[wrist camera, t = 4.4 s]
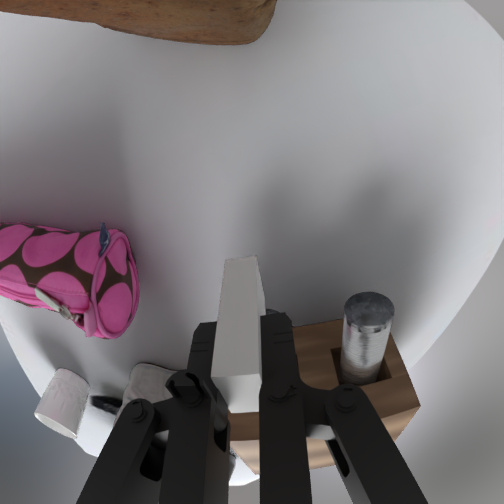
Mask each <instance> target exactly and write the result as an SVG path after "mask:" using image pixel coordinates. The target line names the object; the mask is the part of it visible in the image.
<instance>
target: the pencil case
mask: <svg viewBox="0 0 504 504" xmlns="http://www.w3.org/2000/svg"><path fill="white" fill-rule="evenodd" d="M100 225H101V229H98V230H91V231H85V232H72V231H67V230H63V229H57V228H50V227H46V226H39V225H36V226H34V225H30V224H26V223H0V295H2V296H4V297H6V298H10V299H11V300H14V301H16V302H19V303H21V304H24V305H26V306H28V307H32V308H40V307H43V308H46V309H48V310H51V311H54V312H58V313H60V314H61V315H62V316H63V317H64V318H65V319H72V320H73V322H74V323H75V324H76V326H77V327H79V328H81V329H82V330H84V331H85V332H86V337H91V336H96V337H99V338H103V339H116V338H118V337H119V336H121V335H122V334H123V333H124V332H125V331H126V329H127V328H128V327H129V325H130V324H131V322H132V320H133V318H134V316H135V313H136V310H137V307H138V302H139V280H138V274H137V269H136V264H135V259H134V256H133V253H132V250H131V247H130V244H129V241H128V238H127V236H126V235H125V233H124V232H123V231H121V230H118V229H106V227H105V224H104V222H101V223H100Z"/></svg>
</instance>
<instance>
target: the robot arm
mask: <svg viewBox="0 0 504 504" xmlns="http://www.w3.org/2000/svg"><path fill="white" fill-rule="evenodd" d="M190 352H191V353H190V355H189V360H188V366H187V369H185V370H180V371H178V372H176V373H174V374H172V375H171V376H170V377H169V378H168V380H167V382H166V384H165V387H166V388H167V389H168V391H169V392H170V393H171V395H172V396H173V397H172V398H169V399H166V400H163V401H159V402H155V403H151V402H150V401H148V400H146V399H142V398H137V399H134V400H132V401H130V402H129V403H127V405H126V406H125V407H124V408H123V410H122V412H121V414H120V416H119V418H118V420H117V422H116V424H115V426H114V427H113V429H112V431H111V433H110V435H109V437H108V439H107V441H106V443H105V445H104V447H103V449H102V451H101V453H100V455H99V457H98V459H97V461H96V463H95V465H94V467H93V469H92V471H91V473H90V475H89V477H88V479H87V481H86V484H85V486H84V488H83V490H82V492H81V495H80V496H79V498H78V500H77V503H76V504H228V486H229V480H230V478H231V475H232V473H233V471H234V468H235V461H236V459H235V457H234V456H232V455H230V432H231V426H230V421H229V420H228V409H229V410H230V412H231V413H244V412H259V461H260V504H312V494H311V482H310V472H309V461H308V450H307V441H306V437H308V438H314V439H321V440H325V442H326V445H327V447H328V449H329V451H330V453H331V456H332V458H333V460H334V462H335V465H336V467H337V469H338V471H339V473H340V476H341V477H342V480H343V482H344V484H345V486H346V489H347V491H348V493H349V495H350V497H351V500H352V502H353V504H428V502H427V500H426V499H425V497H424V495H423V493H422V491H421V489H420V487H419V486H418V484H417V482H416V480H415V478H414V477H413V475H412V473H411V471H410V469H409V468H408V466H407V464H406V462H405V460H404V459H403V457H402V455H401V453H400V452H399V450H398V448H397V446H396V445H395V443H394V441H393V439H392V438H391V436H390V434H389V432H388V431H387V429H386V427H385V425H384V424H383V422H382V420H381V419H380V417H379V415H378V413H377V412H376V410H375V408H374V407H373V405H372V403H371V402H370V400H369V398H368V397H367V395H366V393H365V392H364V391H363V390H362V389H361V388H360V387H358V386H356V385H353V384H343V385H339V386H336V387H335V388H333V389H332V390H325V389H317V388H313V387H310V386H308V385H307V384H305V383H304V382H303V381H302V380H301V378H300V376H299V373H298V367H297V359H296V352H295V344H294V337H293V330H292V323H291V320H290V319H289V317H288V316H287V315H286V313H285V312H284V313H277V314H269V315H266V311H265V297H264V292H263V287H262V282H261V277H260V272H259V267H258V262H257V257H256V256H249V257H243V258H236V259H229V260H225V267H224V275H223V282H222V289H221V297H220V304H219V312H218V320H217V321H216V322H206V323H200V324H199V326H198V327H197V329H196V330H195V331H194V334H193V339H192V345H191V350H190ZM158 502H159V503H158Z"/></svg>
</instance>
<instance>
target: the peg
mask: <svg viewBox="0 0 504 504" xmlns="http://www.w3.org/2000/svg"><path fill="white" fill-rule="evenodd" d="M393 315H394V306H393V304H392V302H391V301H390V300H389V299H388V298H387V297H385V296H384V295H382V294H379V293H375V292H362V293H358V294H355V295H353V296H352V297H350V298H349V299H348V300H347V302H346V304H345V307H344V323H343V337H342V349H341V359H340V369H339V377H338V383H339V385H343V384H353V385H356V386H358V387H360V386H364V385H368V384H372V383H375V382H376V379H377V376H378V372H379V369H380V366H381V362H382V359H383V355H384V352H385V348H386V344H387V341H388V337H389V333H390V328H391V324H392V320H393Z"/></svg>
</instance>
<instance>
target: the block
mask: <svg viewBox="0 0 504 504" xmlns="http://www.w3.org/2000/svg"><path fill="white" fill-rule="evenodd" d="M276 2H277V0H0V11H2V12H8V13H15V14H22V15H30V16H41V17H51V18H58V19H65V20H71V21H79V22H92V23H96V24H98V25H100V26H102V27H104V28H109V29H112V30H115V31H120V32H124V33H129V34H136V35H141V36H146V37H152V38H157V39H163V40H172V41H178V42H186V43H198V44H210V45H241V44H248V43H251V42H254V41H255V40H257V39H258V38H259V37H260V36H261V35H262V34H263V33H264V31H265V30H266V29H267V27H268V25H269V24H270V22H271V19H272V17H273V14H274V10H275V6H276Z"/></svg>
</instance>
